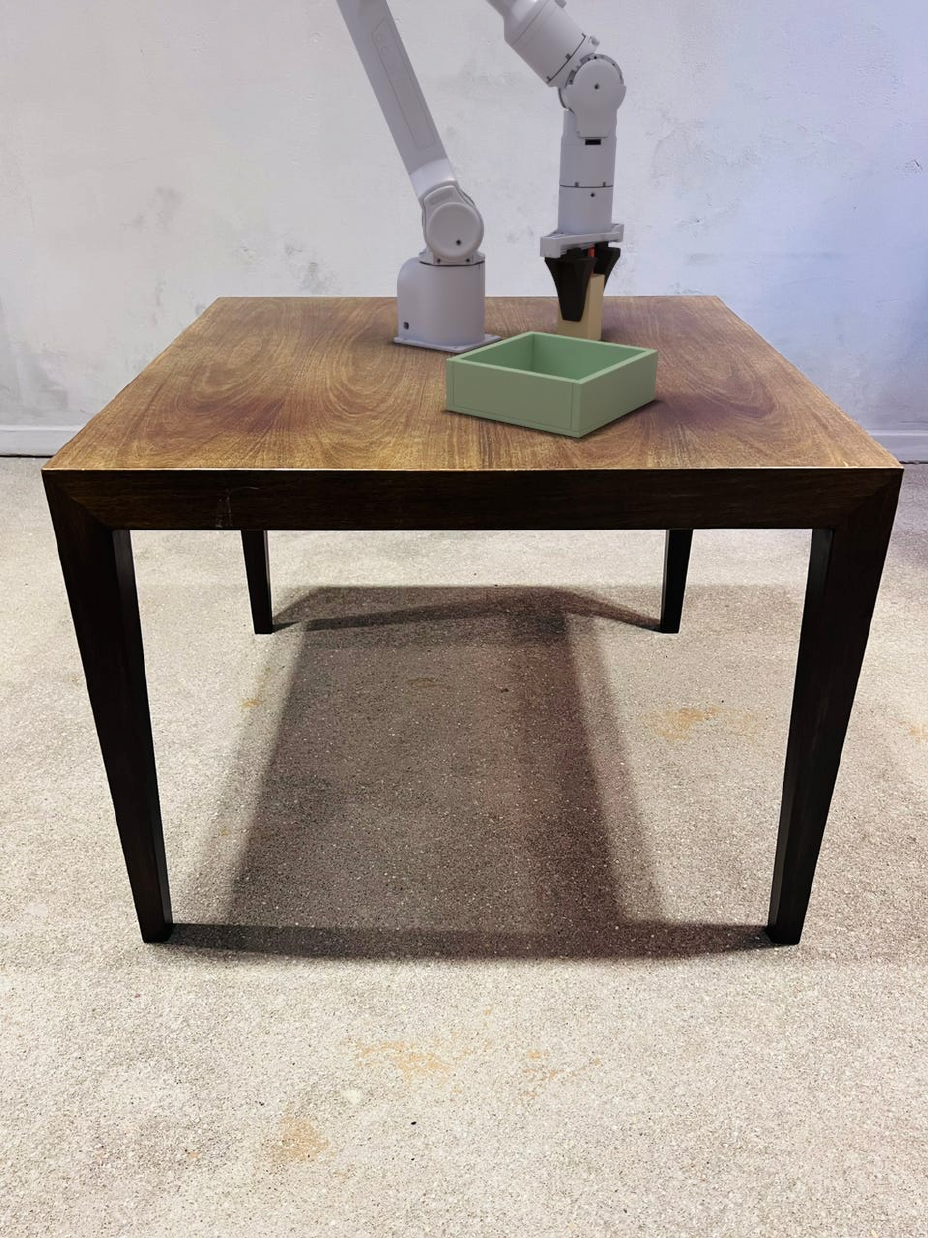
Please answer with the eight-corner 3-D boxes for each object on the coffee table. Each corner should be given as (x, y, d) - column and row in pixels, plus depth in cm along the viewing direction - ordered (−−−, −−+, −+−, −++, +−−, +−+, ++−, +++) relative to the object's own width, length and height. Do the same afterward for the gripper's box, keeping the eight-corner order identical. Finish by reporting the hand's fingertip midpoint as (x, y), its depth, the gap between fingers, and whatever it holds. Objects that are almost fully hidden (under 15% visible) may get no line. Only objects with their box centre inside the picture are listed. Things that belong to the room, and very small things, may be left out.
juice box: (556, 339, 111) (560, 247, 106) (570, 334, 113) (574, 244, 108) (587, 344, 109) (592, 250, 104) (600, 339, 111) (606, 247, 106)
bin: (446, 409, 87) (445, 359, 85) (529, 376, 97) (530, 330, 95) (578, 438, 80) (581, 383, 78) (654, 399, 90) (658, 349, 88)
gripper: (584, 192, 96) (577, 334, 102) (652, 181, 106) (641, 310, 113) (524, 189, 100) (521, 325, 106) (595, 178, 110) (588, 303, 116)
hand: (579, 317), depth 110 cm, fingers closed on juice box, 3 cm apart
